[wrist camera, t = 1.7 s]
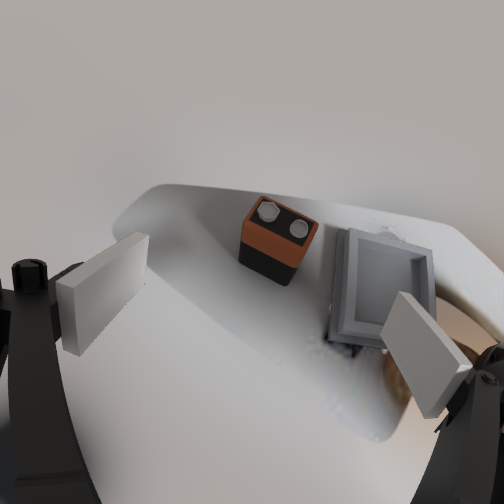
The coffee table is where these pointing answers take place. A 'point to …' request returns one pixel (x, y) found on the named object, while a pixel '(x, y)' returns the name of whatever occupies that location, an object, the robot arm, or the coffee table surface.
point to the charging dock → (375, 284)
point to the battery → (275, 240)
